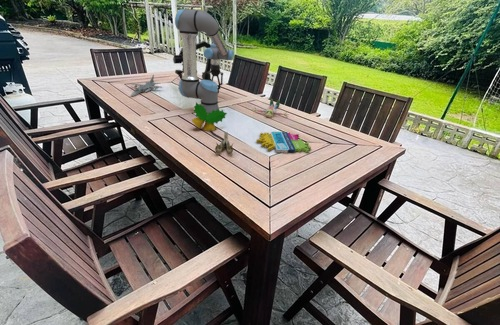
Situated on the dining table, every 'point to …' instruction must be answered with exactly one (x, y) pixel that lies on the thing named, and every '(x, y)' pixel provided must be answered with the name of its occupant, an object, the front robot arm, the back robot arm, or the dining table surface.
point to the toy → (271, 109)
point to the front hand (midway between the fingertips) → (215, 92)
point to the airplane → (145, 87)
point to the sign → (283, 142)
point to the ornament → (207, 117)
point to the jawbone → (224, 145)
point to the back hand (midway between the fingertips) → (186, 81)
